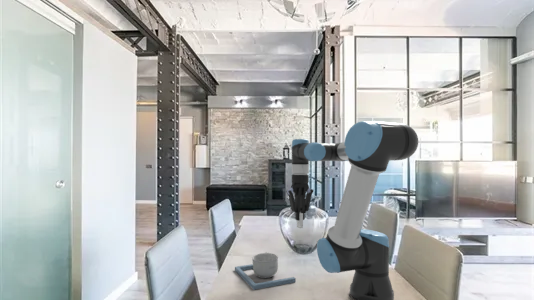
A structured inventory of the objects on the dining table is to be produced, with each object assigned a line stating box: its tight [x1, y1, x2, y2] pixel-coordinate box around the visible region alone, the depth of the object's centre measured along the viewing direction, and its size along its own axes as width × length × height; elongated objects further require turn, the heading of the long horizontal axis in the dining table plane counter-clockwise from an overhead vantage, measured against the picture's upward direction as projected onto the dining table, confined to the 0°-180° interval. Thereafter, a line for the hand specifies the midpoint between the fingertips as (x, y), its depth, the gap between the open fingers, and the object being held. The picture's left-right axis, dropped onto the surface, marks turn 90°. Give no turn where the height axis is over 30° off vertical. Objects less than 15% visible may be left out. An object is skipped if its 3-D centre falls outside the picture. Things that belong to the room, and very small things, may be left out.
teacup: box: [251, 251, 279, 279], centre depth 135 cm, size 14×11×8 cm
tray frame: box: [234, 263, 296, 291], centre depth 132 cm, size 22×18×2 cm
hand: (299, 227), depth 140 cm, fingers closed
